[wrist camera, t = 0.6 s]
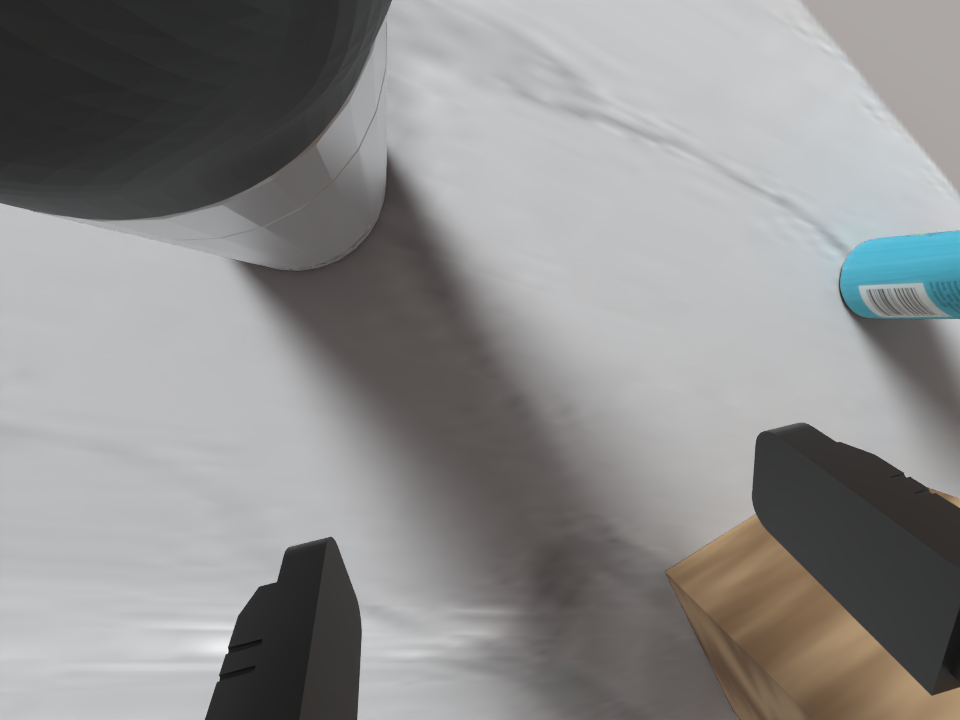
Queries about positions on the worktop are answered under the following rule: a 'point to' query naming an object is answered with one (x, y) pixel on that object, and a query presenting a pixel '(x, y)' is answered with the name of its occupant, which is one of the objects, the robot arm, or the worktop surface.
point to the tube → (904, 277)
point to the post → (791, 638)
